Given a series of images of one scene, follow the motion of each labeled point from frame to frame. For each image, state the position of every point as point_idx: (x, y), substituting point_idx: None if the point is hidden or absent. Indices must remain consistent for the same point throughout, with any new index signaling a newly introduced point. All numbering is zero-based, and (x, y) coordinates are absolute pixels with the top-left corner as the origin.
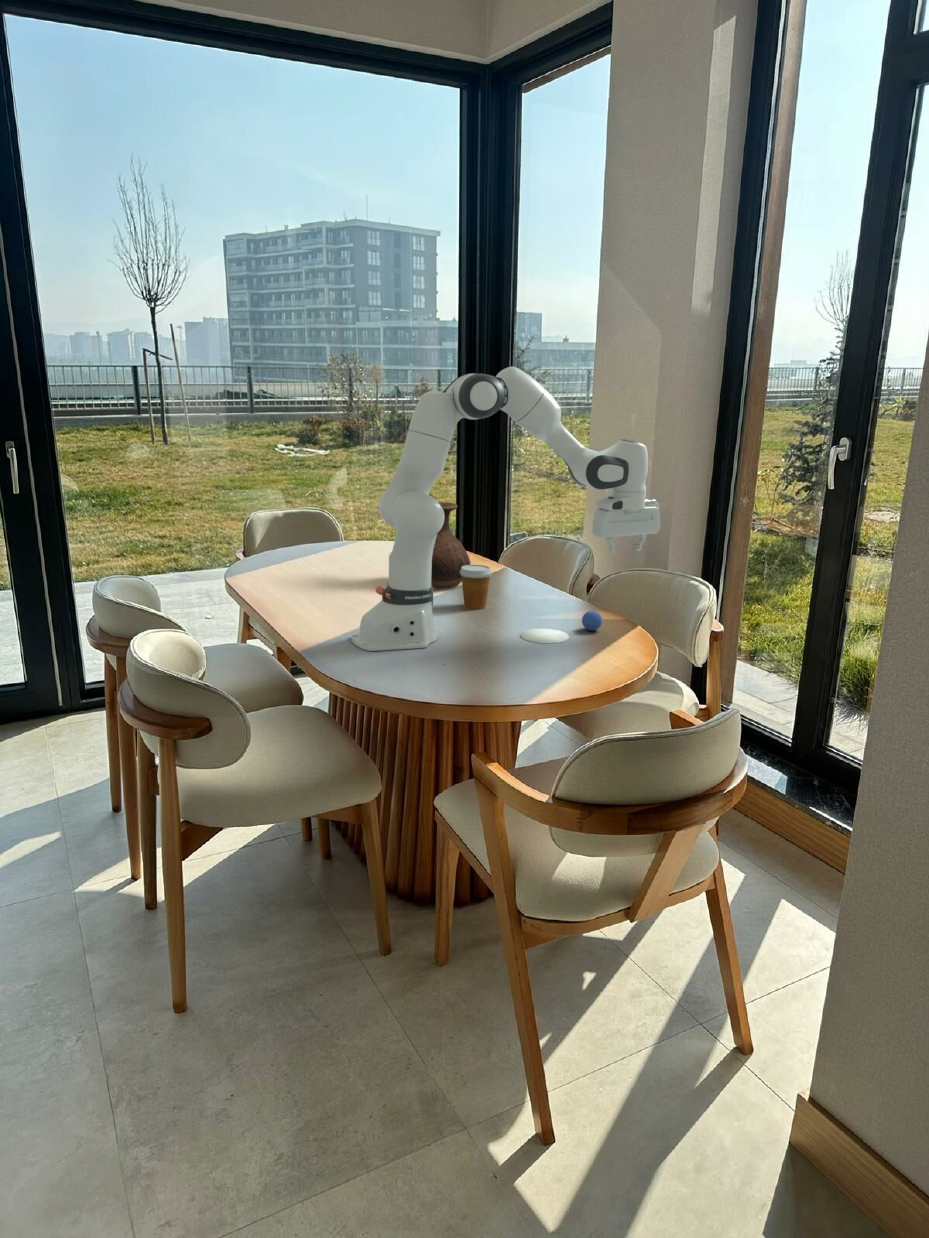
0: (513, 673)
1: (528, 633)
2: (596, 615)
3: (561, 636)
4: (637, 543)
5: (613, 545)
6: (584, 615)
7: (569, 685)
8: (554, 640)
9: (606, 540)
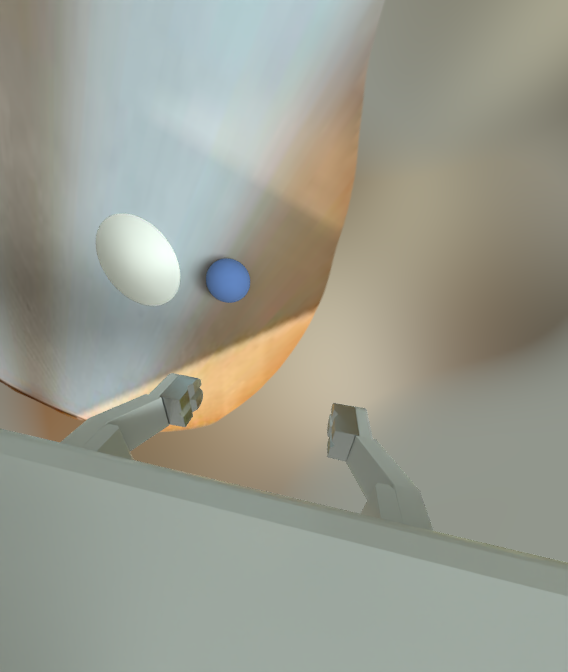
0: (71, 363)
1: (112, 237)
2: (223, 300)
3: (164, 284)
4: (353, 447)
5: (152, 430)
6: (206, 277)
7: None
8: (146, 296)
9: (96, 416)
